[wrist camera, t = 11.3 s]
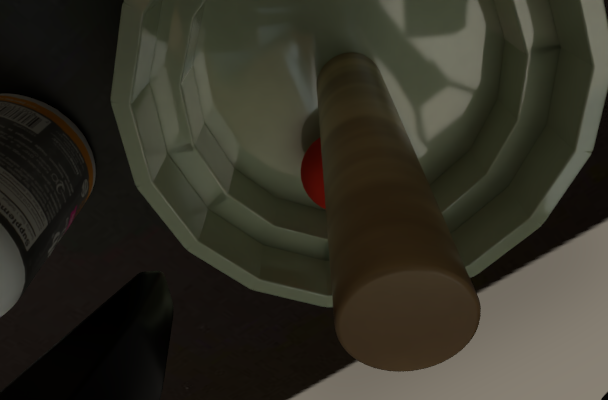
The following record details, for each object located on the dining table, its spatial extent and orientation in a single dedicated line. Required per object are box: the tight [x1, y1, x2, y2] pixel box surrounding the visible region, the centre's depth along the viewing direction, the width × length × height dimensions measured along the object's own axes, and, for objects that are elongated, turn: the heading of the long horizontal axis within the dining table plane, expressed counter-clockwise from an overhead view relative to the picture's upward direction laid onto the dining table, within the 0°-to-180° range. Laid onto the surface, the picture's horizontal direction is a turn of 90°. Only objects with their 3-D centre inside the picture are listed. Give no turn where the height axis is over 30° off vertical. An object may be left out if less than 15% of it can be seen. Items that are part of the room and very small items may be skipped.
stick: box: [317, 53, 481, 371], centre depth 13 cm, size 2×2×12 cm
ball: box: [301, 138, 326, 209], centre depth 19 cm, size 3×3×3 cm
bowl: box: [110, 0, 608, 307], centre depth 17 cm, size 14×14×5 cm
